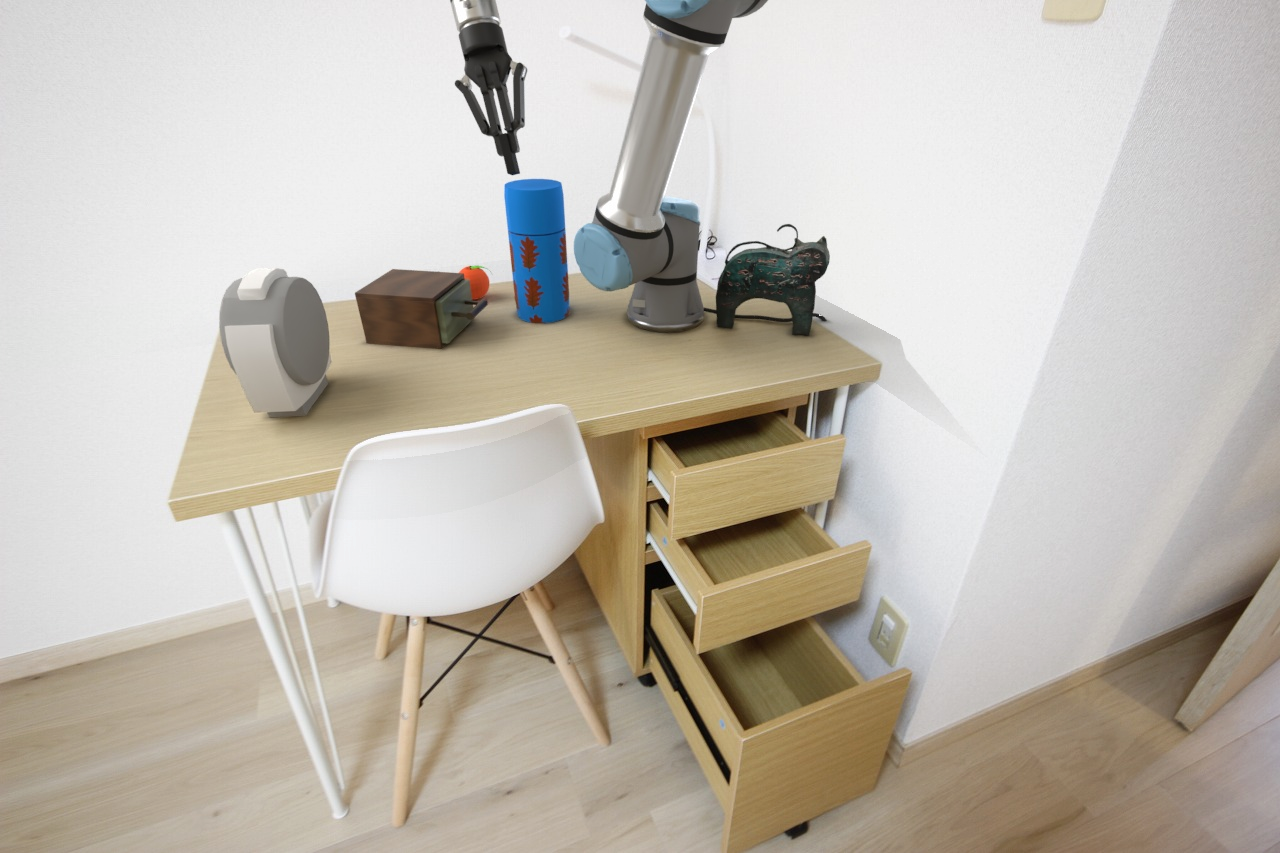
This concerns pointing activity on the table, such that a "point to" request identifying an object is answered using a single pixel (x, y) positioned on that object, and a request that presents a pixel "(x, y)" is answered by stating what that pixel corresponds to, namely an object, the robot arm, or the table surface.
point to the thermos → (538, 249)
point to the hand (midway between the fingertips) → (513, 173)
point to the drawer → (457, 310)
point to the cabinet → (404, 307)
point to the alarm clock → (276, 341)
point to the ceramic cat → (773, 280)
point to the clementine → (476, 280)
